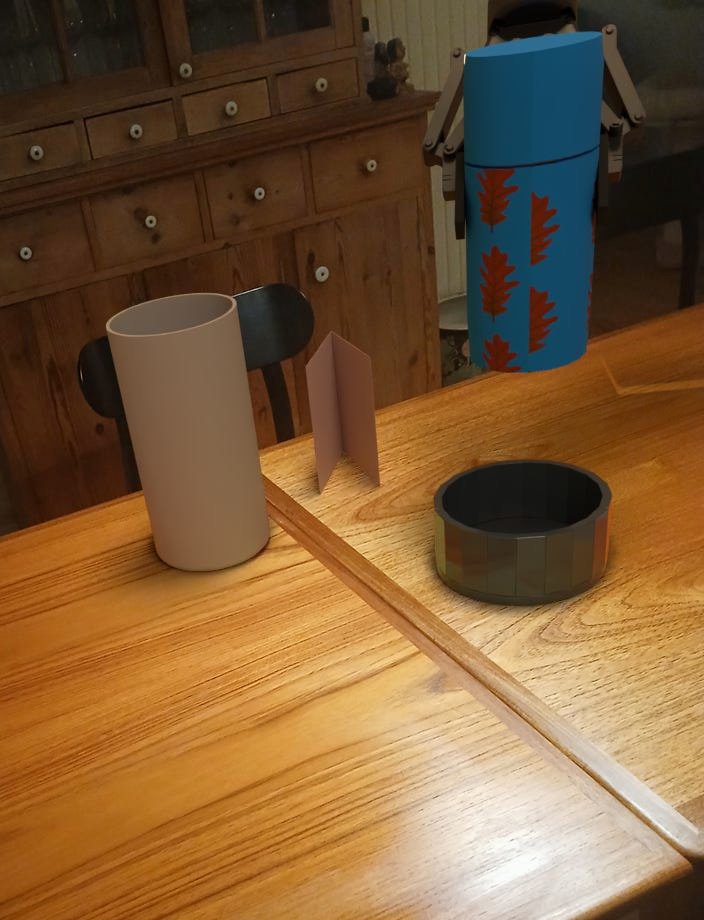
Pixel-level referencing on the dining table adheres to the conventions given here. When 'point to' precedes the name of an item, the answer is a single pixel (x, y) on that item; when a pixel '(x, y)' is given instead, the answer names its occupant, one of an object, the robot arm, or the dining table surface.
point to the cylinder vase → (192, 428)
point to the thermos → (531, 198)
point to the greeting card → (342, 408)
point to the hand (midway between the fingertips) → (529, 223)
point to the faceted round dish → (522, 531)
